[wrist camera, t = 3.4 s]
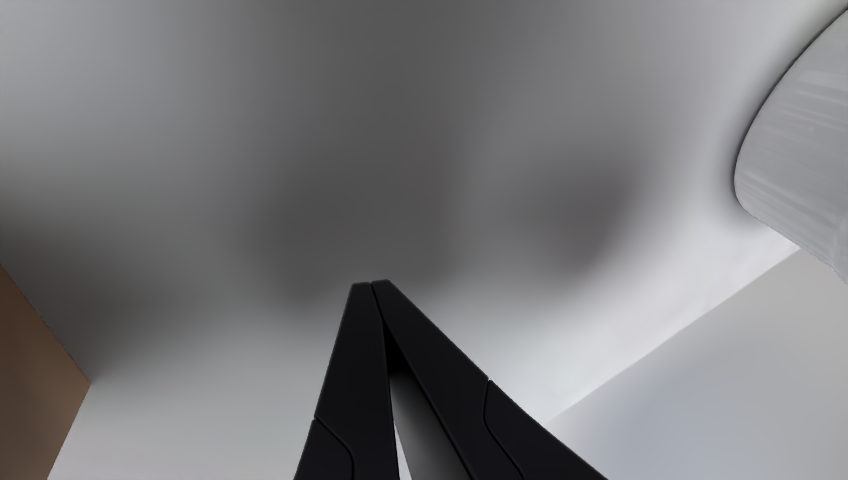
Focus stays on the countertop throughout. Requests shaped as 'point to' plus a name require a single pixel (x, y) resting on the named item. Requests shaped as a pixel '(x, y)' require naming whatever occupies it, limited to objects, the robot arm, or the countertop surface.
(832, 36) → the ramekin
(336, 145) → the countertop surface
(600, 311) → the countertop surface
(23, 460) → the walnut block
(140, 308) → the countertop surface
